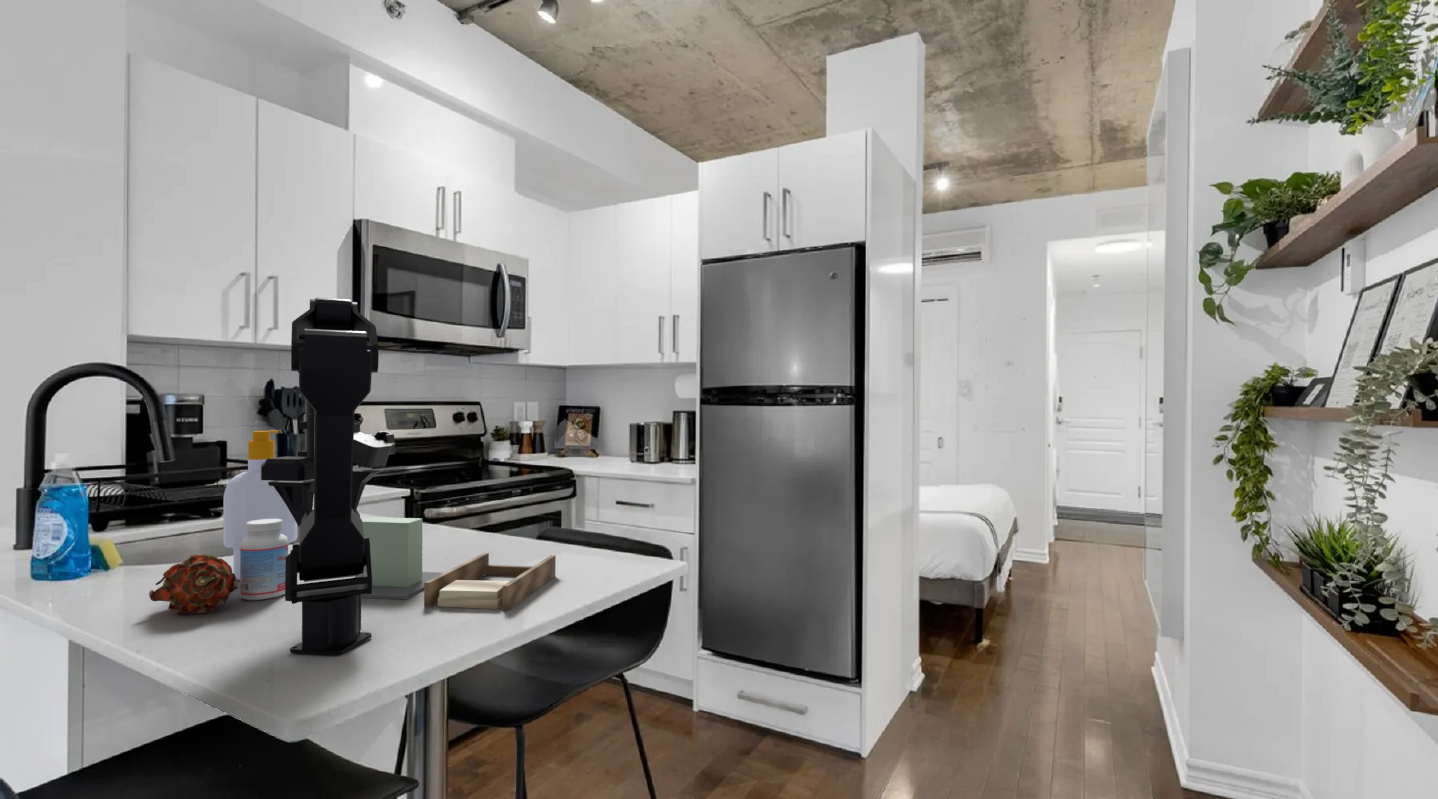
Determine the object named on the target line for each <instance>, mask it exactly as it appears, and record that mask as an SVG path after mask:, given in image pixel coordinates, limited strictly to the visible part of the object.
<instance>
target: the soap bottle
mask: <svg viewBox="0 0 1438 799" xmlns="http://www.w3.org/2000/svg"><path fill="white" fill-rule="evenodd" d="M278 433H280V429H279V430H256V431H255V430H254V431H252V440H249V441H248V445H247V448H248V449H247V450H248V453H247V454H248V458H247V471H243V472H241V473H239V474H237V475H235V476H233V477H232V478H231V479H230V480H229V481H228V483H227V485H226V487H225V489H224V494H223V512H222V513H223V517H222V519H223V520H222V521H223V537H222V538H223V541H222V542H223V546H224V547H225V548H227V549H233V550H232V551H233V562H232V563H233V567H232V573H234V574H235V576H236V581H240V545H241V542H242V541H243V539H245V538H246V537H248V533H247V531H246V523H247V522H249V521H254V520H261V519H281V520H282V522H283V528H282V530H281V534H283V535H285V536H286V537H287V539H288V544H290V543H293V542H296V540H297V539H298V525H297V523H296V521H295V519H294V518H293V516H292V514H291V512H290V511H289V509H288V507H287V506H286V504H285V502H284V501H283V499H282V498H281V497H280V495H279V494H278V492H277V491H276V489H275V488H274V487H273V486H269V485H268V482H269V481H270V480H261V465H262V464H263V463H264V462H265V461H266V459H269V458H275V440H274V439H273V440H272V439H271V434H278Z"/></svg>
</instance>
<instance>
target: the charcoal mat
mask: <svg viewBox="0 0 1438 799" xmlns="http://www.w3.org/2000/svg"><path fill="white" fill-rule="evenodd" d="M443 573H444V572H438V571H437V572H436V571H434V572H433V571H432V572H431V571H422V581H420V582H418V583H416V584H413V585H411V586H409V587H396V586H372V594H361V595H360V599H361V598H363V599H365V598H366V599H387V600H406V599H407V600H408V599H409V598H411V597H413V596H415V595H417V594H419V593H421V592H422V591H424V582H426V581H428V580H430V579H432V578H434V577H436V576H438V575H440V574H443Z"/></svg>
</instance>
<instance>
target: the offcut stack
mask: <svg viewBox="0 0 1438 799" xmlns="http://www.w3.org/2000/svg"><path fill="white" fill-rule="evenodd" d="M509 581H510V580H480V579H478V580H455V581H454V582H452V583H451V584H449V585H447V586H446V587H444V588H443V589H441V590H439V598H438V603H437V607H447V608H465V609H467V608H469V609H487V610H489V609H490V610H498V609H499V608H501V607H503V585H505V584H506V583H508V582H509Z"/></svg>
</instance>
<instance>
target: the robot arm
mask: <svg viewBox="0 0 1438 799" xmlns="http://www.w3.org/2000/svg"><path fill="white" fill-rule="evenodd" d="M377 334H378V333H377V327H376V325H375V324H374V323H373V322H371V320H368V319H367V318H366V317H365V316H364V315H363V314H362V313H360V312H359V308H358V302H356V301H352V299H348V298H347V299H346V298H331V297H316V298H314V299H312V298H310V299H309V309H308V310H306V311H305V312H304V313H302V314H301V315H300V316H298V317H296V318H295V319H294V320H293V321H292V322H291V339H290V340H291V342H290V343H291V344H290V347H291V349H290V351H291V352H290V355H291V356H290V359H291V360H290V362H291V364H290V367H291V372H297V374H298V391H299V394H301V395H302V397H303V398H304V417H305V418H304V421H297V429H298V430H304V431H305V432H304V444H305V445H304V447H305V448H304V449H305V450H300V451H299V450H298V451H297V456H278V457H274V458H269V459H266V461H265V462H264V463H263V464H262V465H261V480H270V481H269V482H268V485H269V486H273V487H274V488H275V489H276V491H277V492H278V494H279V495H280V497H281V498H282V499H283V501H284V502H285V504H286V506H287V507H288V509H289V511H290V512H291V514H292V516H293V518H294V519H295V521H296V523H297V527H298V528H299V530H298V532H299V534H298V537H299V538H298V539H299V541H298V543H295V544H292V549H290V552H289V553H288V556H287V557H286V567H285V594H284V601H285V602H291V605H295V604H298V603H301V642H299V643H297V644H295V645H293V646H291V647H289V653H293V654H311V655H332V656H338V655H340V656H341V655H342V654H345V653H346V652H347V651H350V650H351V649H353V648H354V647H357V646H358V645H360V644H362V643H364V642H366V641H368V640H369V639H371V638H372V636H373V634H372V632H364V631H363V632H362V599H361V597H360V595H361V594H372V569H371V554H370V540H369V538H364V531H363V522H362V518H361V514H360V512H359V511H358V506H359V503H360V501H361V498H362V495H363V492H364V490H365V489H366V488H365V487H366V485H367V483H368V482H369V481H370V480H372V478H373V477H374V476H375V475H376V474H379V473H380V472H381V470H380V469H381V468H386V467H387V461H388V459H389V455H394V454H396V452H397V450H396V448H395V447H396V442H395V440H396V439H395V434H394V433H392V432H390V431H386V430H381V431H377V432H376V434H371V433H369V434H366V433H363V432H361V424H360V423H359V420H355V411H356V410H357V409H358V407H359V406H360V405H361V404H362V403H363V402H364V401H365V399H366V398H367V396H369V394H370V392H371V389H372V373H378V372H379V357H380V356H379V341H378V335H377ZM363 572H364V577H357V578H355V576H359V574H362V573H363ZM298 580H300V582H301V581H303V582H304V583H298Z"/></svg>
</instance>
